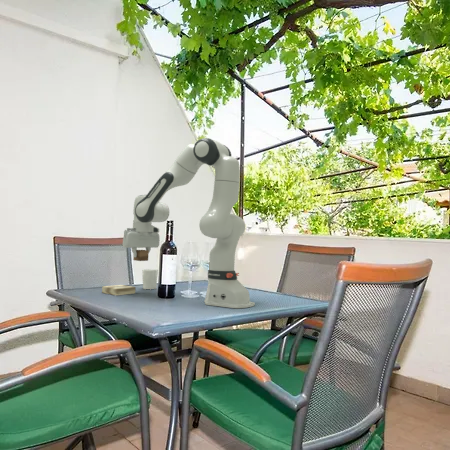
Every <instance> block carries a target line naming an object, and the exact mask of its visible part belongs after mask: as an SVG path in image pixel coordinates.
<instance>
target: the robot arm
mask: <svg viewBox="0 0 450 450" xmlns="http://www.w3.org/2000/svg"><path fill="white" fill-rule="evenodd" d="M203 165H208V166H209V167H212V168H214V172H215V173H214V183H213V184H214V185H213V191H212V192H213V193H212V199H211V202H210V204H209V207H208V209H207V211H206V213H205V214H204V215H203V216H201V218H200V219H199V220H200V221H199V231H200V232H201V234H202V235H204V236H205V237H208V238H212V239H216V241H215V244H214V246H213V248H211V250H210V251H209V259H208V261H209V270H207V280H208V282H207V289H206V294H205V298H204V301H203V302H204V304H205V305H206V306H213V307H214V306H215V307H222V308H231V309H245V308H251V307H255V305H256V304H255V303H256V302H253V301H251V299H250V291H249V290H248V289H247V288H246V287H245V285H243V284H242V283H241V282H240V281H239V280H238V276H240V273H239V272H236V270H235V260H236V250H237V247H238V244H239V240H240V238H241V237H242V236H243V235H244V233H245V230H246V223H245V220H244V219H243V217H241V216H239V215H237V214H232V213H231V212H232V209H233V207H234V206H235V205H236V204H237V203H238V200H239V195H240V184H241V183H240V182H241V177H240V176H241V169H240V162H239V160H238V159H237V158H236V157H234V156H232V152H231V150H230V149H229V147H228V146H226V145H224V144H223V143H221V142H220V141H218V140H214V139H212V138H208V137H205V138H200V139H198V140H197V141H196V142H195V143H189V144H187V145H186V146H185V147H184V148H183V149H182V151H181V152H180V153H179V155H178V156H177V157H176V158H175V160H174V162H173V163H172V165H171V166H170V167H169V168H168V170H167V171H165V173H163V174H162V175H161V176H160V177H159V178H158V179H157V181H156V182H155V183H154V185H153V186H152V187H151V188H150V190H149V191H148V193H147V194H141V195H137V196H136V197H135V199H134V202H133V211H132V212H133V221H132V227H131V228H130V227H127V228H126V229H124V231H123V238H122V246H123V248H125V249H127V248H128V249H131V251H132V254H133V255H132V256H133V257H138V254H137V253H136V250H138V249H140V248H141V249H144V248H145V250H149V253H150V252H151V248H154V249H155V248H159V247H160V234H159V233H160V228H159V227H157V226H155V225H152V223H163V222H165V221H167V220H168V219H169V217H170V208H169V206H168V204H166V203H163V202H161V200H162V198H163V197H164V196H165V195H166V193H168V191H170V190H172V189H175V188H177V187H182V186H185V185H188V184H189V183H190V182H191V181H193V178H195V175H196V174H197V173H198V171H199V169H200V168H201V167H202V166H203ZM149 253H148V255H149Z"/></svg>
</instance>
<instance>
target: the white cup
mask: <svg viewBox="0 0 450 450" xmlns="http://www.w3.org/2000/svg"><path fill="white" fill-rule="evenodd" d="M158 273H159V270H158V269H156V268H142V289H143V290H146V289H150V290H151V289H154V290H156V289H157V285H158Z"/></svg>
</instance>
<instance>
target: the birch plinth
mask: <svg viewBox="0 0 450 450" xmlns="http://www.w3.org/2000/svg"><path fill="white" fill-rule="evenodd" d="M101 293H102V294H105V295H106V294H107V295H112V296H124V295H131V294H132V295H133V294H136V286H131V285H125V284H115V285H106V286H105V285H103V286H101Z"/></svg>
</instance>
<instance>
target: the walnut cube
mask: <svg viewBox="0 0 450 450" xmlns="http://www.w3.org/2000/svg"><path fill="white" fill-rule="evenodd" d="M136 253H137V254H138V257H133V261H136V262H137V261H138V262H146V261H147V262H148V261H149V254H148V253H150V252H149V250H146V249H137V250H136Z"/></svg>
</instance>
